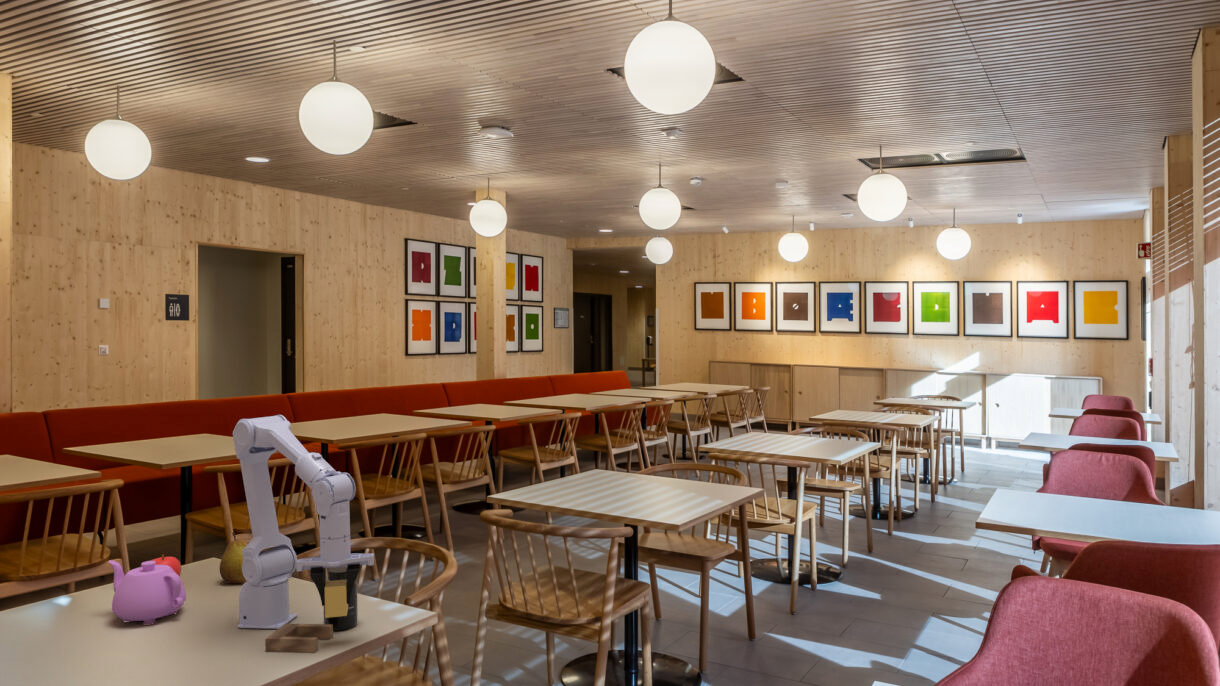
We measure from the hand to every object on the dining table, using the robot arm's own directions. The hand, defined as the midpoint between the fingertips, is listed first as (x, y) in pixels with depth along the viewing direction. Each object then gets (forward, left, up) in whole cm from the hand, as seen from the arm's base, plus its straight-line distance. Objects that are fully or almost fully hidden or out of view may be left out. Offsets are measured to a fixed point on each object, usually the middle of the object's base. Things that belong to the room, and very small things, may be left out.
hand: (336, 603), depth 161 cm
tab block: (0, 0, -2) cm, 2 cm away
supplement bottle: (-3, +9, -8) cm, 12 cm away
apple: (-59, +32, -8) cm, 68 cm away
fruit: (-42, +37, -8) cm, 56 cm away
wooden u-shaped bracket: (-7, -1, -8) cm, 11 cm away
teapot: (-49, +12, -8) cm, 51 cm away
